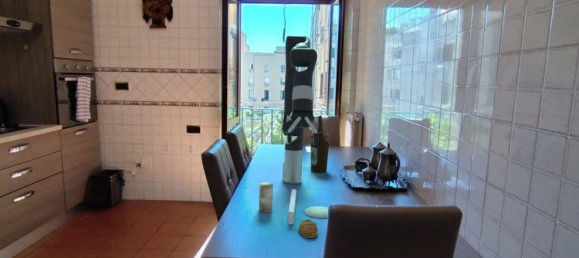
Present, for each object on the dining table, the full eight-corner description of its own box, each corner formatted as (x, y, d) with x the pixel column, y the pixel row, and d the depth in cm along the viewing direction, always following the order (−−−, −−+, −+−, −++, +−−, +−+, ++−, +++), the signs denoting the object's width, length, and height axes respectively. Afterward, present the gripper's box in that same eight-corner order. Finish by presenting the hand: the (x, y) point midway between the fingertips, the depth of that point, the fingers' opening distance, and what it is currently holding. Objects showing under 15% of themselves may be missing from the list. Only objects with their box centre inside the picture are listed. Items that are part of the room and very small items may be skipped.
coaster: (298, 211, 148) (298, 210, 148) (318, 205, 156) (318, 204, 156) (319, 221, 139) (319, 220, 139) (340, 213, 147) (340, 212, 147)
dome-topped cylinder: (256, 209, 149) (256, 183, 147) (266, 206, 153) (267, 181, 151) (264, 213, 145) (265, 187, 143) (275, 210, 149) (275, 184, 147)
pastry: (320, 239, 125) (321, 229, 124) (301, 240, 124) (302, 229, 123) (314, 227, 134) (315, 218, 133) (297, 228, 133) (297, 218, 132)
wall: (291, 200, 161) (291, 189, 160) (295, 200, 161) (296, 189, 160) (288, 224, 135) (288, 211, 135) (293, 224, 135) (293, 212, 135)
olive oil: (321, 167, 217) (323, 126, 213) (331, 172, 208) (333, 129, 204) (306, 169, 212) (307, 127, 208) (315, 174, 203) (317, 130, 199)
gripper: (320, 103, 135) (320, 146, 131) (282, 102, 134) (281, 145, 131) (323, 97, 127) (323, 143, 124) (283, 96, 127) (282, 142, 124)
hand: (302, 144), depth 127 cm, fingers open, 8 cm apart
